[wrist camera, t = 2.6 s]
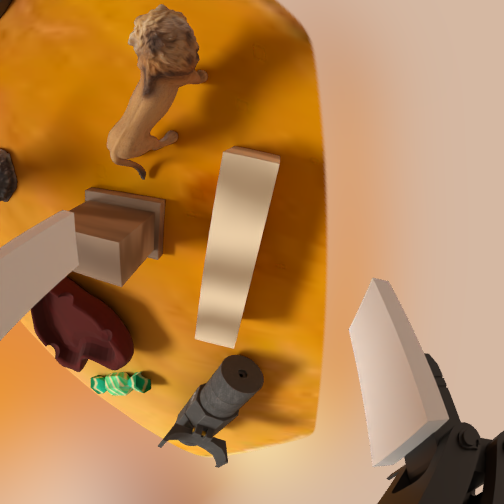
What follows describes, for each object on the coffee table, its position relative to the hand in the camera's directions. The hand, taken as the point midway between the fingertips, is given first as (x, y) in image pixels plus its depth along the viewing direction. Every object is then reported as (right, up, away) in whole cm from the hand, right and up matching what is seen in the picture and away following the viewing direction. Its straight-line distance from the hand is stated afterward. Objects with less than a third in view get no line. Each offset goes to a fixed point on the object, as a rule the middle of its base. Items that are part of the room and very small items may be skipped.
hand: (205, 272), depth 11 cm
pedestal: (-11, +4, +16) cm, 20 cm away
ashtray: (-23, -7, +24) cm, 34 cm away
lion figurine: (-6, +14, +11) cm, 19 cm away
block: (0, +2, +16) cm, 16 cm away
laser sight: (-4, -21, +28) cm, 35 cm away
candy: (-20, -20, +30) cm, 41 cm away
